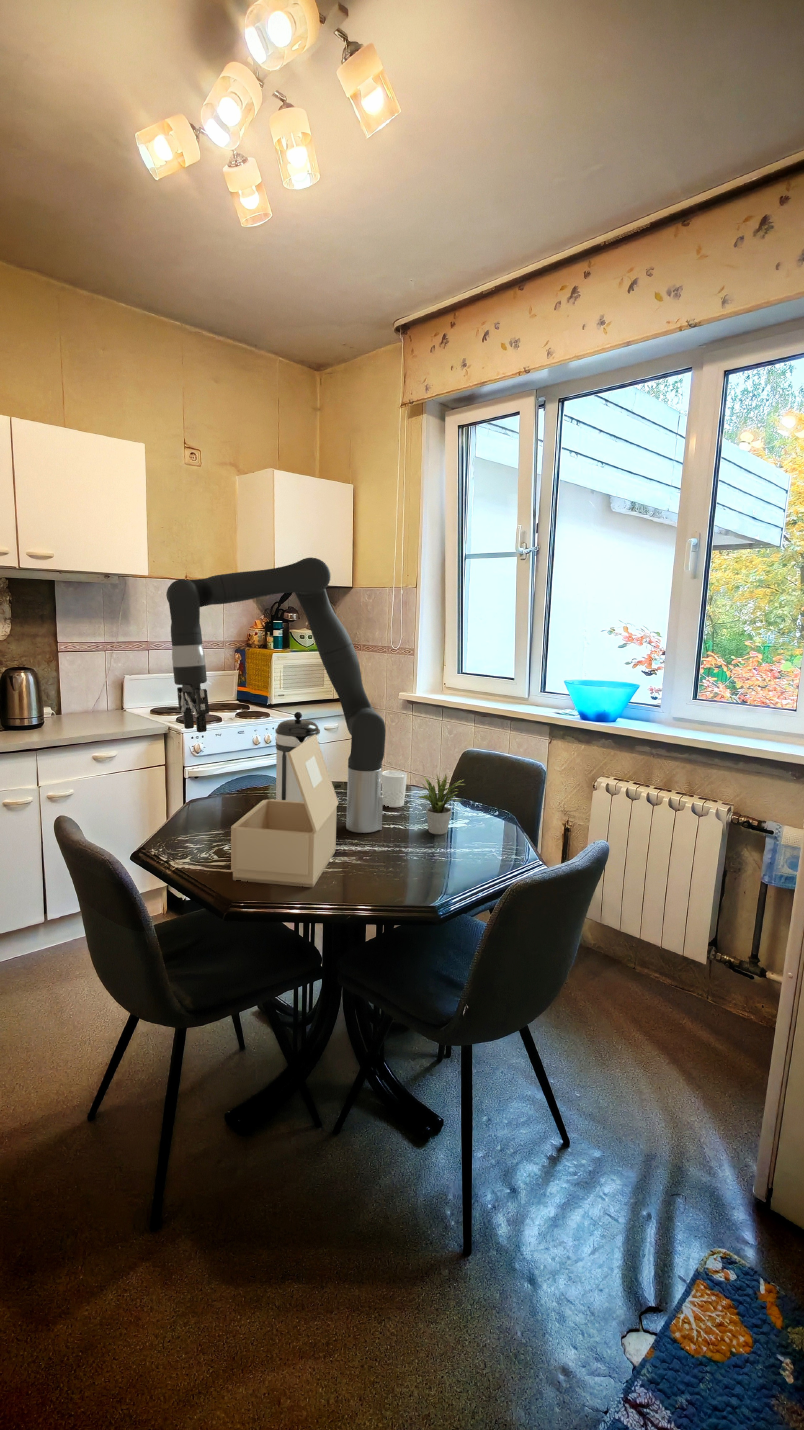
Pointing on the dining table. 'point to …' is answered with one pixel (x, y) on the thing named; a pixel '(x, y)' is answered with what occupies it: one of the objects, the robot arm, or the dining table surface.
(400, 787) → the white cup
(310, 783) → the lid flap
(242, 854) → the carton
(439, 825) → the house plant
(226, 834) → the dining table surface
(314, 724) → the coffee press
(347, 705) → the robot arm
